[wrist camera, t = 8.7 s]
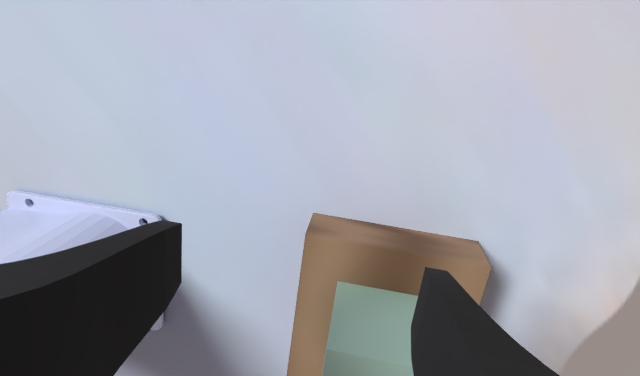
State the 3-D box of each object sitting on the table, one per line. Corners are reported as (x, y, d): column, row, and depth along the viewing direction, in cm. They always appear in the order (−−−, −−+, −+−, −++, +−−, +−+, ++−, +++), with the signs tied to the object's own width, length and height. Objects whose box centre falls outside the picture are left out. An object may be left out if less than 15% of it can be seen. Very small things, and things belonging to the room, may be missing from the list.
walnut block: (296, 341, 26) (286, 377, 24) (313, 211, 23) (305, 234, 20) (439, 369, 26) (447, 409, 23) (477, 239, 23) (491, 267, 20)
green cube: (324, 359, 23) (311, 441, 18) (337, 281, 21) (326, 349, 16) (416, 377, 22) (426, 465, 18) (436, 299, 21) (454, 374, 16)
